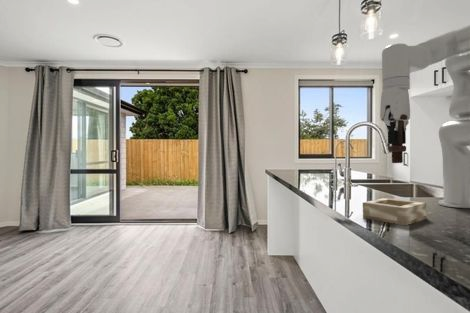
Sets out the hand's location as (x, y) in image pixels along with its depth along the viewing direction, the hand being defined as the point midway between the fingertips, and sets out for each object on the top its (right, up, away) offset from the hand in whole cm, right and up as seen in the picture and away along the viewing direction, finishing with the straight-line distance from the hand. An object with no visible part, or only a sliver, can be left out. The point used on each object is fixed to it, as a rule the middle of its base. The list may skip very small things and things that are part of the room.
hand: (396, 143), depth 89 cm
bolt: (0, -6, 0) cm, 6 cm away
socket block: (-1, -24, 0) cm, 24 cm away
